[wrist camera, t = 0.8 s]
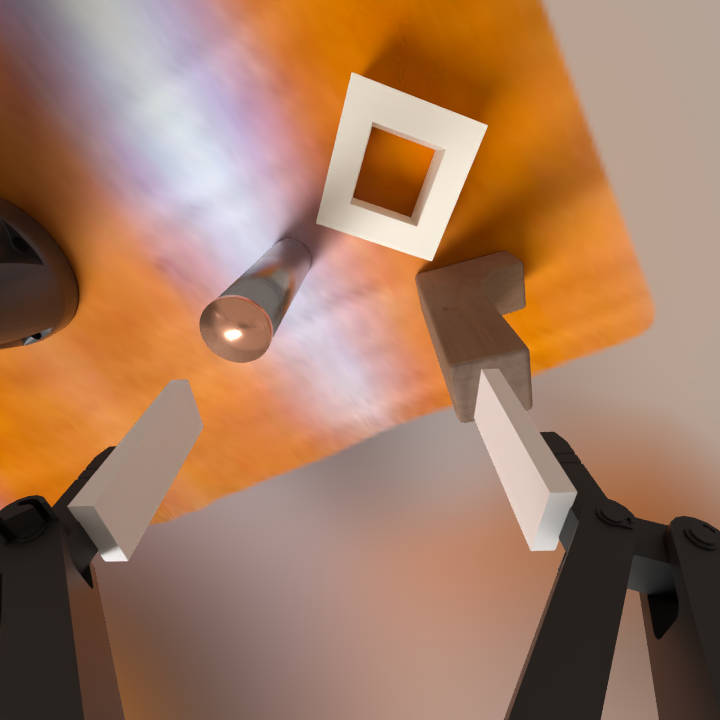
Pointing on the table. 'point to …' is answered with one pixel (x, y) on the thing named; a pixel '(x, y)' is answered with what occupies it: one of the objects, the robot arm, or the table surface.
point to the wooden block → (476, 326)
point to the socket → (412, 122)
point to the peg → (255, 303)
